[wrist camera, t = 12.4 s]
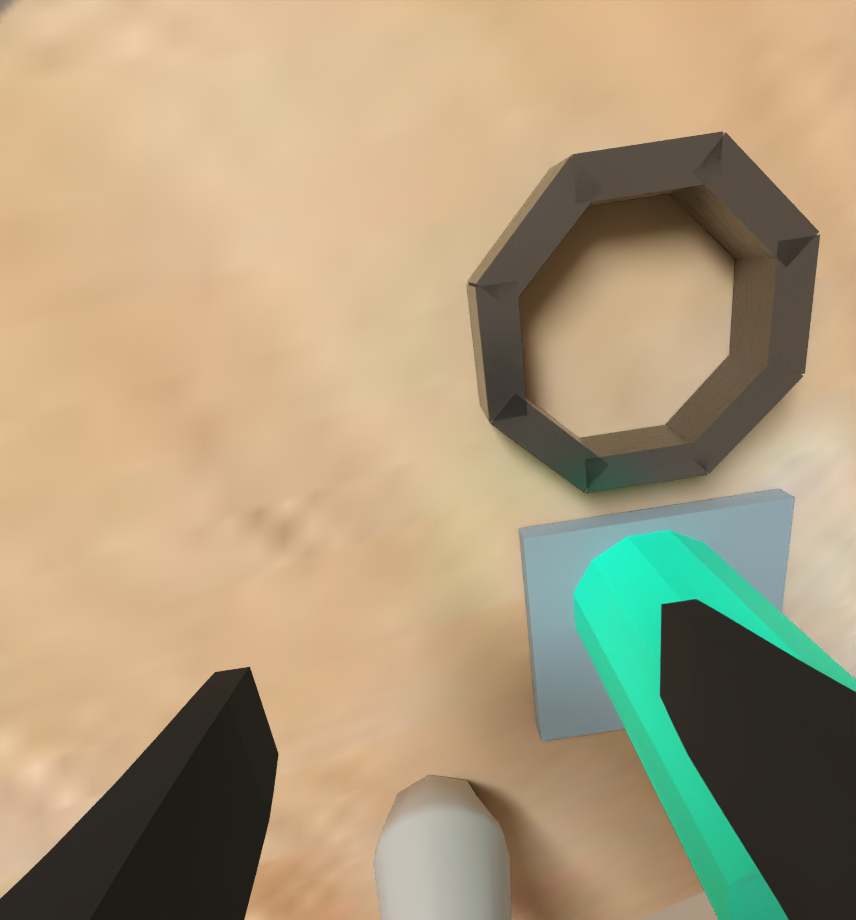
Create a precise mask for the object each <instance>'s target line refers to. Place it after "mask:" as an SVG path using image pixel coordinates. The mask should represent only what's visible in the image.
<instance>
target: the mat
mask: <svg viewBox="0 0 856 920" xmlns="http://www.w3.org/2000/svg"><path fill="white" fill-rule="evenodd" d="M794 499H795V497H793V496H791V495H790V494H788V493H786V492H785V491H783V490H781V489H775V490H768V491H762V492H755V493H749V494H742V495H736V496H729V497H722V498H716V499H709V500H703V501H696V502H690V503H683V504H676V505H670V506H663V507H657V508H650V509H644V510H637V511H630V512H624V513H617V514H611V515H604V516H598V517H591V518H584V519H578V520H571V521H565V522H558V523H552V524H545V525H538V526H532V527H525V528H519V536H520V547H521V558H522V569H523V580H524V591H525V602H526V613H527V624H528V634H529V645H530V656H531V667H532V678H533V689H534V700H535V711H536V722H537V728H538V732H539V735H540V738H541V742H543V741H550V740H556V739H563V738H569V737H576V736H582V735H589V734H596V733H602V732H609V731H615V730H622V729H625V727H624V725H623V723H622V721H621V719H620V717H619V715H618V713H617V711H616V709H615V707H614V705H613V703H612V701H611V699H610V697H609V695H608V693H607V691H606V689H605V687H604V685H603V683H602V681H601V678H600V676H599V674H598V672H597V670H596V668H595V666H594V664H593V662H592V660H591V658H590V656H589V654H588V652H587V650H586V648H585V646H584V644H583V642H582V640H581V638H580V636H579V634H578V632H577V629H576V627H575V616H574V599H573V593H574V591H575V589H576V588H577V586H578V584H579V582H580V581H581V579H582V577H583V575H584V573H585V572H586V570H587V568H588V566H589V565H590V563H591V561H592V560H593V559H594V558H596V557H597V556H599V555H600V554H602V553H603V552H605V551H606V550H608V549H609V548H611V547H612V546H614V545H615V544H617V543H618V542H620V541H621V540H623V539H624V538H626V537H627V536H633V535H639V534H646V533H652V532H658V531H665V530H671V531H674V532H676V533H679V534H682V535H685V536H687V537H690V538H693V539H696V540H699V541H701V542H704V543H705V544H706V545H708V546H709V547H710V548H711V549H712V550H713V551H714V552H715V553H716V554H717V555H719V556H720V557H721V558H722V559H723V560H724V561H725V562H726V563H727V564H728V565H730V566H731V567H732V568H733V569H734V570H735V571H736V572H737V573H738V574H739V575H741V576H742V577H743V578H744V579H745V580H746V581H747V582H748V583H749V584H750V585H752V586H753V587H754V588H755V589H756V590H757V591H758V592H759V593H760V594H761V595H763V596H764V597H765V598H766V599H767V600H768V601H769V602H770V603H771V604H772V605H774V606H775V607H776V608H777V609H778V610H779V611H780V612H781V613H782V606H783V597H784V588H785V579H786V570H787V561H788V552H789V544H790V535H791V526H792V517H793V508H794Z"/></svg>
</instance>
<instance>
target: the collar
mask: <svg viewBox="0 0 856 920" xmlns="http://www.w3.org/2000/svg"><path fill="white" fill-rule="evenodd" d="M662 194H670V195H671V196H672V197H673V198H674V199H675V200H676V201H677V202H678V203H679V204H680V205H681V206H682V207H683V208H684V209H685V210H686V211H687V212H688V213H690V214H691V215H692V216H693V217H694V218H695V219H696V220H697V221H698V222H699V223H700V224H701V225H702V226H703V227H704V228H705V229H706V230H707V231H708V232H709V233H710V234H711V235H712V236H713V237H714V238H715V239H716V240H717V241H718V242H719V243H720V244H721V245H722V246H723V247H724V248H725V249H726V250H727V251H728V252H729V253H730V254H731V255H732V256H733V257H734V258H735V271H734V288H733V305H732V322H731V339H730V355H729V356H728V357H727V358H726V359H725V360H724V361H723V362H722V363H721V364H720V366H719V367H718V368H717V369H716V370H715V371H714V372H713V373H712V374H711V375H710V376H709V378H708V379H707V380H706V381H705V382H704V383H703V384H702V385H701V386H700V387H699V389H698V390H697V391H696V392H695V393H694V394H693V395H692V396H691V397H690V398H689V399H688V401H687V402H686V403H685V404H684V405H683V406H682V407H681V408H680V409H679V410H678V411H677V413H676V414H675V415H674V416H673V417H672V418H671V419H670V420H669V421H668V422H667V424H666V425H662V426H655V427H648V428H642V429H635V430H629V431H622V432H616V433H609V434H602V435H596V436H589V437H583V438H578V437H577V436H576V435H575V434H573V433H572V432H571V431H569V430H568V429H567V428H565V427H564V426H563V425H562V424H560V423H559V422H558V421H556V420H555V419H554V418H552V417H551V416H550V415H549V414H547V413H546V412H545V411H543V410H542V409H541V408H539V407H538V406H537V405H535V404H534V403H533V402H532V401H530V400H529V399H528V398H526V390H525V377H524V364H523V351H522V339H521V326H520V313H519V300H518V297H519V295H520V294H521V293H522V292H523V290H524V289H525V288H526V286H527V285H528V284H529V282H530V281H531V280H532V278H533V277H534V276H535V275H536V273H537V272H538V271H539V269H540V268H541V267H542V265H543V264H544V263H545V262H546V260H547V259H548V258H549V256H550V255H551V254H552V252H553V251H554V250H555V248H556V247H557V246H558V245H559V243H560V242H561V241H562V239H563V238H564V237H565V235H566V234H567V233H568V232H569V230H570V229H571V228H572V226H573V225H574V224H575V222H576V221H577V220H578V218H579V217H580V216H581V215H582V213H583V212H584V211H585V209H586V208H587V207H588V206H590V205H597V204H603V203H610V202H616V201H623V200H630V199H636V198H643V197H649V196H656V195H662ZM818 232H819V231H818V230H817V229H816V228H815V227H814V226H813V225H812V224H811V223H810V221H809V220H808V219H807V218H806V217H805V216H804V215H803V214H802V213H801V212H800V211H799V210H798V209H797V208H796V207H795V205H794V204H793V203H792V202H791V201H790V200H789V199H788V198H787V197H786V196H785V195H784V194H783V193H782V192H781V191H780V190H779V188H778V187H777V186H776V185H775V184H774V183H773V182H772V181H771V180H770V179H769V178H768V177H767V176H766V175H765V174H764V172H763V171H762V170H761V169H760V168H759V167H758V166H757V165H756V164H755V163H754V162H753V161H752V160H751V159H750V158H749V157H748V155H747V154H746V153H745V152H744V151H743V150H742V149H741V148H740V147H739V146H738V145H737V144H736V143H735V142H734V141H733V139H732V138H731V137H730V136H729V135H728V134H727V133H724V134H723V132H717V133H710V134H704V135H697V136H690V137H684V138H677V139H671V140H664V141H657V142H651V143H644V144H638V145H631V146H625V147H618V148H611V149H605V150H598V151H592V152H585V153H578V154H573V155H571V156H570V157H568V158H567V159H565V160H563V161H562V162H560V163H558V164H557V165H555V166H554V167H552V168H551V169H549V171H548V172H547V173H546V175H545V176H544V178H543V179H542V180H541V182H540V183H539V184H538V186H537V187H536V189H535V190H534V191H533V193H532V194H531V195H530V197H529V198H528V199H527V201H526V202H525V204H524V205H523V206H522V208H521V209H520V210H519V212H518V213H517V214H516V216H515V217H514V219H513V220H512V221H511V223H510V224H509V225H508V227H507V228H506V230H505V231H504V232H503V234H502V235H501V236H500V238H499V239H498V240H497V242H496V243H495V245H494V246H493V247H492V249H491V250H490V251H489V253H488V254H487V255H486V257H485V258H484V260H483V261H482V262H481V264H480V265H479V266H478V268H477V269H476V270H475V272H474V273H473V275H472V276H471V277H470V279H469V280H468V281H467V282H469V283H470V284H467V293H468V302H469V311H470V320H471V329H472V338H473V347H474V356H475V365H476V374H477V383H478V392H479V401H480V406H481V408H482V410H483V411H484V413H485V415H486V417H487V418H488V420H489V422H490V423H491V424H492V425H493V426H494V427H496V428H497V429H498V430H500V431H501V432H503V433H504V434H505V435H507V436H508V437H509V438H511V439H512V440H513V441H515V442H516V443H518V444H519V445H520V446H522V447H523V448H524V449H526V450H527V451H528V452H530V453H531V454H533V455H534V456H535V457H537V458H538V459H539V460H541V461H542V462H543V463H545V464H546V465H547V466H549V467H550V468H552V469H553V470H554V471H556V472H557V473H558V474H560V475H561V476H562V477H564V478H565V479H567V480H568V481H569V482H571V483H572V484H573V485H575V486H576V487H577V488H579V489H580V490H581V491H583V492H586V493H590V492H596V491H603V490H610V489H616V488H623V487H629V486H636V485H642V484H649V483H656V482H662V481H669V480H675V479H682V478H688V477H695V476H702V475H707V472H708V473H710V472H711V471H712V470H713V469H714V468H715V467H716V466H717V465H718V464H719V463H720V462H721V461H722V460H723V459H724V458H725V457H726V456H727V454H728V453H729V452H730V451H731V450H732V449H733V448H734V447H735V446H736V445H737V444H738V443H739V442H740V441H741V440H742V439H743V438H744V437H745V436H746V435H747V434H748V433H749V432H750V431H751V430H752V429H753V428H754V427H755V426H756V425H757V424H758V422H759V421H760V420H761V419H762V418H763V417H764V416H765V415H766V414H767V413H768V412H769V411H770V410H771V409H772V408H773V407H774V406H775V405H776V404H777V403H778V402H779V401H780V400H781V399H782V398H783V397H784V396H785V395H786V394H787V393H788V391H789V390H790V389H791V388H792V387H793V386H794V385H795V384H796V383H797V382H798V381H799V380H800V379H801V378H802V377H803V375H801V374H804V373H805V366H806V357H807V348H808V339H809V330H810V321H811V312H812V303H813V294H814V285H815V276H816V266H817V257H818V248H819V239H820V235H817V233H818Z"/></svg>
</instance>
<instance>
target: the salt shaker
mask: <svg viewBox="0 0 856 920" xmlns="http://www.w3.org/2000/svg"><path fill="white" fill-rule="evenodd" d="M373 865H374V873H375V880H376V887H377V894H378V901H379V909H380V916H381V920H511V881H510V856H509V852H508V848H507V844H506V840H505V837H504V834H503V831H502V828H501V826H500V824H499V823H498V822H497V821H496V819H495V818H494V817H493V816H492V814H491V813H490V812H489V811H488V809H487V808H486V807H485V806H484V804H483V803H482V802H481V800H480V799H479V798H478V797H477V795H476V794H475V793H474V791H473V790H472V788H471V786H470V785H469V783H468V781H467V780H462V779H455V778H447V777H440V776H433V775H428V776H426V777H425V778H423V779H421V780H420V781H418V782H416V783H415V784H413V785H411V786H410V787H408V788H406V789H405V790H403V791H402V792H400V793H398V794H397V797H396V799H395V801H394V803H393V806H392V808H391V810H390V813H389V815H388V817H387V819H386V822H385V824H384V826H383V828H382V831H381V834H380V838H379V841H378V844H377V848H376V851H375V857H374V862H373Z"/></svg>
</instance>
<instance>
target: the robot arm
mask: <svg viewBox="0 0 856 920" xmlns="http://www.w3.org/2000/svg"><path fill="white" fill-rule="evenodd" d="M660 697H661V699H662V702H663V704H664V706H665V708H666V710H667V712H668V715H669V717H670V719H671V721H672V723H673V726H674V728H675V730H676V732H677V734H678V736H679V738H680V740H681V742H682V744H683V746H684V748H685V750H686V752H687V754H688V756H689V758H690V759H691V761H692V763H693V764H694V766H695V768H696V769H697V771H698V773H699V774H700V776H701V778H702V779H703V781H704V783H705V784H706V786H707V787H708V789H709V791H710V792H711V794H712V796H713V797H714V799H715V801H716V802H717V804H718V805H719V807H720V809H721V810H722V812H723V813H724V815H725V817H726V818H727V820H728V822H729V823H730V825H731V826H732V828H733V830H734V831H735V833H736V834H737V836H738V838H739V839H740V841H741V842H742V844H743V846H744V847H745V849H746V851H747V852H748V854H749V855H750V857H751V859H752V860H753V862H754V863H755V865H756V867H757V868H758V870H759V871H760V873H761V875H762V876H763V878H764V880H765V881H766V883H767V884H768V886H769V888H770V889H771V891H772V892H773V894H774V896H775V897H776V899H777V901H778V902H779V904H780V906H781V907H782V909H783V911H784V912H785V914H786V916H787V918H788V919H789V920H856V692H855V691H853V690H852V689H850V688H848V687H846V686H844V685H843V684H841V683H839V682H837V681H835V680H834V679H832V678H830V677H828V676H827V675H825V674H823V673H821V672H820V671H818V670H816V669H814V668H813V667H811V666H809V665H807V664H806V663H804V662H802V661H801V660H799V659H797V658H795V657H794V656H792V655H790V654H789V653H787V652H785V651H784V650H782V649H780V648H779V647H777V646H775V645H774V644H772V643H770V642H769V641H767V640H765V639H764V638H762V637H760V636H759V635H757V634H755V633H754V632H752V631H750V630H749V629H747V628H745V627H744V626H742V625H740V624H739V623H737V622H735V621H734V620H732V619H730V618H729V617H727V616H725V615H724V614H722V613H720V612H718V611H717V610H715V609H713V608H712V607H710V606H708V605H706V604H705V603H703V602H701V601H699V600H697V599H692V600H686V601H679V602H673V603H666V604H661V655H660ZM277 761H278V751H277V748H276V745H275V742H274V739H273V736H272V733H271V730H270V727H269V724H268V721H267V718H266V715H265V712H264V709H263V705H262V702H261V699H260V696H259V693H258V690H257V687H256V684H255V681H254V678H253V675H252V672H251V669H250V667H246V668H239V669H233V670H226V671H220V672H215V673H214V674H213V675H212V676H211V677H210V678H209V679H208V680H207V681H206V682H205V684H204V685H203V686H202V687H201V688H200V689H199V690H198V691H197V692H196V694H195V695H194V696H193V697H192V698H191V699H190V700H189V701H188V703H187V704H186V705H185V706H184V707H183V708H182V709H181V710H180V712H179V713H178V714H177V715H176V716H175V717H174V718H173V720H172V721H171V722H170V723H169V724H168V725H167V726H166V727H165V729H164V730H163V731H162V732H161V733H160V734H159V735H158V737H157V738H156V739H155V740H154V741H153V742H152V743H151V744H150V745H149V746H148V748H147V749H146V750H145V751H144V752H143V753H142V754H141V755H140V756H139V758H138V759H137V760H136V761H135V762H134V763H133V764H132V765H131V766H130V768H129V769H128V770H127V771H126V772H125V773H124V774H123V775H122V776H121V778H120V779H119V780H118V781H117V782H116V783H115V784H114V785H113V786H112V787H111V788H110V789H109V790H108V791H107V792H106V793H105V794H104V795H103V797H102V798H101V799H100V800H99V801H98V802H97V803H96V804H95V805H94V806H93V807H92V808H91V809H90V810H89V811H88V812H87V813H86V814H85V815H84V816H83V817H82V818H81V819H80V820H79V821H78V822H77V823H76V824H75V826H74V827H73V828H72V829H71V830H70V831H69V832H68V833H67V834H66V835H65V836H64V837H63V838H62V839H61V840H60V841H59V842H58V843H57V844H56V845H55V846H54V847H53V848H52V849H51V850H50V851H49V852H48V853H47V854H46V855H45V856H44V857H43V858H42V859H41V860H40V861H39V862H38V863H37V864H36V865H35V866H34V867H33V868H32V869H31V870H30V871H29V872H28V873H27V874H26V875H25V876H24V877H23V878H22V879H21V880H20V881H19V882H17V883H16V884H15V885H14V886H13V887H12V888H11V889H10V890H9V891H8V892H7V893H6V894H5V895H4V896H3V897H2V898H1V899H0V920H244V919H245V915H246V911H247V907H248V903H249V899H250V895H251V891H252V887H253V883H254V879H255V875H256V871H257V867H258V863H259V859H260V855H261V851H262V847H263V843H264V839H265V835H266V831H267V827H268V823H269V818H270V812H271V805H272V799H273V792H274V785H275V777H276V769H277Z"/></svg>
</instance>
